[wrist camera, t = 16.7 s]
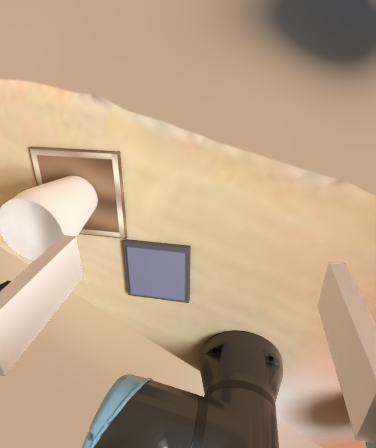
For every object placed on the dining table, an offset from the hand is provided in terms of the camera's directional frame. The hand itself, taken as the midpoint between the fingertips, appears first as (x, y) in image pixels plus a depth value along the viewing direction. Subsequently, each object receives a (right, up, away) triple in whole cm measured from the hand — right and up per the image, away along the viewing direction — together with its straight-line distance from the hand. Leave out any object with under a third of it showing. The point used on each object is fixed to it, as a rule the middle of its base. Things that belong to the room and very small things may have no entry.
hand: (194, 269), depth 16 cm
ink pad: (-5, -6, +36) cm, 37 cm away
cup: (-17, +7, +32) cm, 37 cm away
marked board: (-17, +7, +32) cm, 37 cm away
